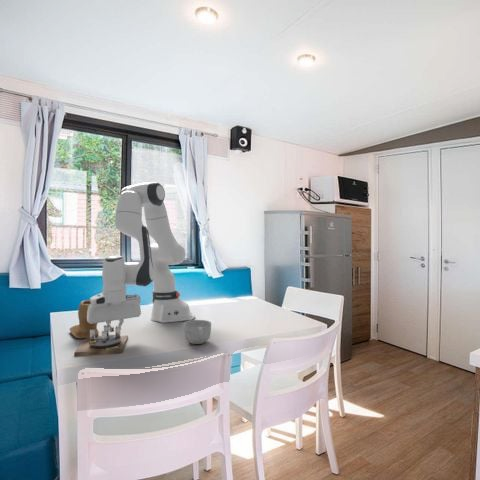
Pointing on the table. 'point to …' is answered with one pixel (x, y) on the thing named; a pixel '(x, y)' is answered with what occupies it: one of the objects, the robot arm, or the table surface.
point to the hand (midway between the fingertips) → (115, 330)
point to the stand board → (89, 350)
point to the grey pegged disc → (104, 338)
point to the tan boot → (83, 322)
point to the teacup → (197, 331)
